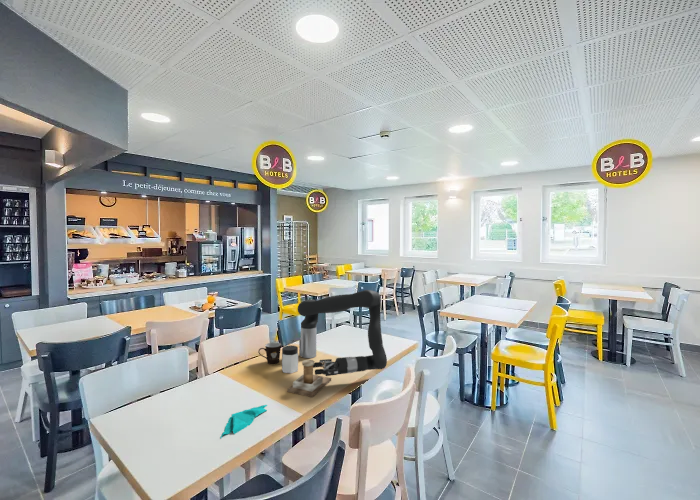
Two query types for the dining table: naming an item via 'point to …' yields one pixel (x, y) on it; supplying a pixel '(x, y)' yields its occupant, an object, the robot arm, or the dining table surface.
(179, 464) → the dining table surface
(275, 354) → the coffee mug
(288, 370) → the jar
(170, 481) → the dining table surface
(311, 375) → the bobbin
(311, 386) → the brown board with bracket
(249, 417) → the cloth
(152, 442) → the dining table surface
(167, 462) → the dining table surface
